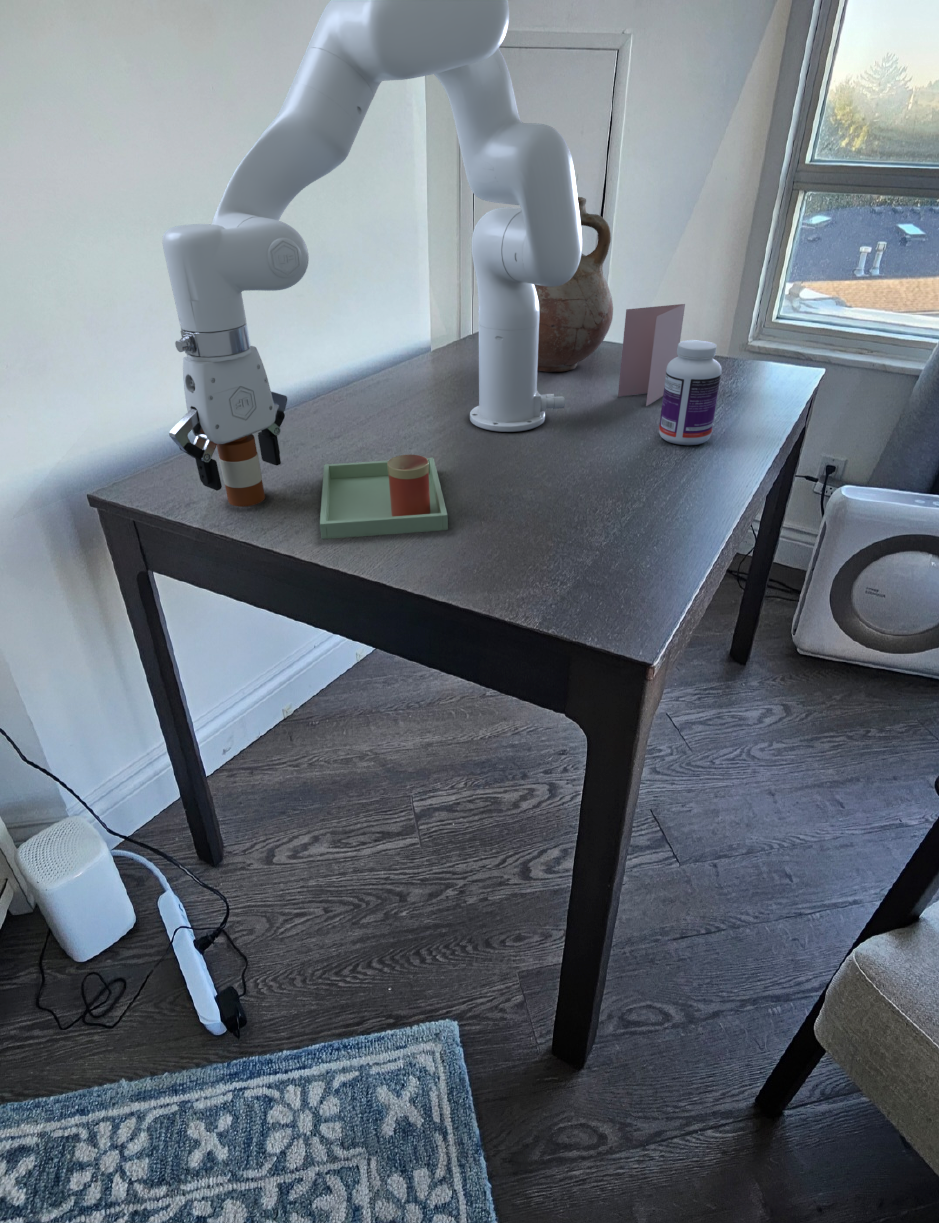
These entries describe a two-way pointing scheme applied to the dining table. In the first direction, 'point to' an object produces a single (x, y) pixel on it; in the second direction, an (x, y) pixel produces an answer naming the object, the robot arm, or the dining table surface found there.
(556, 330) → the jug
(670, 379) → the pill bottle
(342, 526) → the tray
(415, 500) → the tea tin
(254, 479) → the spice bottle
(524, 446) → the dining table surface
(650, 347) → the greeting card
